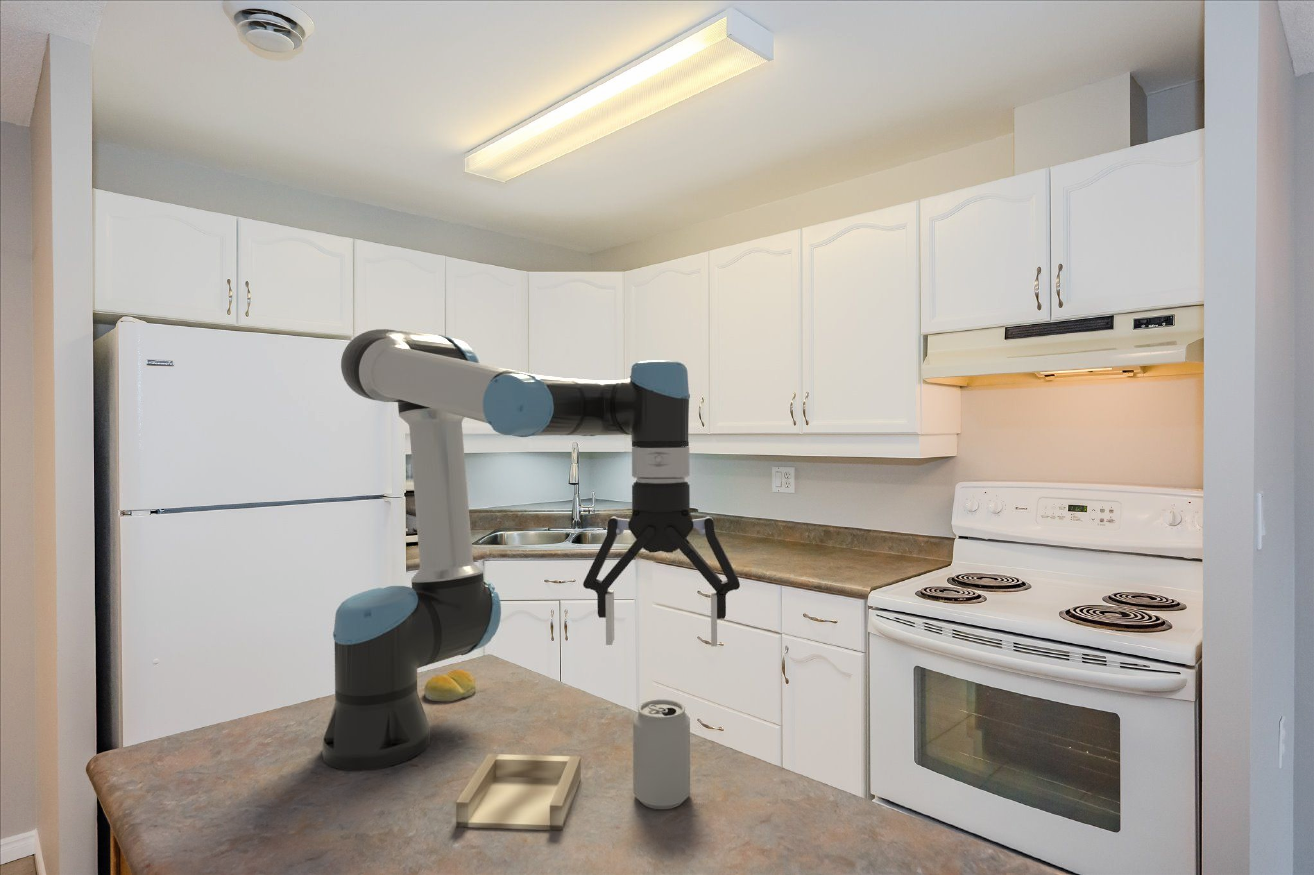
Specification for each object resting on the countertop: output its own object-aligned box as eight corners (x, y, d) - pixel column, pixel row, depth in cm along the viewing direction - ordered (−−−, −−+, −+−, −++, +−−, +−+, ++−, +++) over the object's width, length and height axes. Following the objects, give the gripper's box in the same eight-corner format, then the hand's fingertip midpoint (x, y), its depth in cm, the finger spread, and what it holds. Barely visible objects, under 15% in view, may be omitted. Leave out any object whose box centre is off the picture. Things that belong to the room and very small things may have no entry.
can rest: (456, 826, 87) (456, 802, 87) (488, 775, 100) (488, 753, 100) (562, 830, 86) (561, 805, 86) (580, 778, 99) (580, 756, 99)
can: (685, 815, 89) (685, 719, 89) (627, 809, 91) (626, 715, 91) (694, 786, 97) (694, 697, 97) (640, 781, 98) (639, 693, 98)
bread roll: (416, 695, 131) (416, 673, 131) (461, 683, 137) (461, 662, 137) (437, 707, 125) (437, 684, 125) (483, 694, 131) (483, 672, 131)
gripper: (560, 482, 91) (561, 650, 91) (759, 481, 89) (760, 652, 89) (571, 478, 98) (572, 633, 98) (755, 478, 96) (756, 635, 96)
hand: (661, 642), depth 94 cm, fingers open, 13 cm apart
